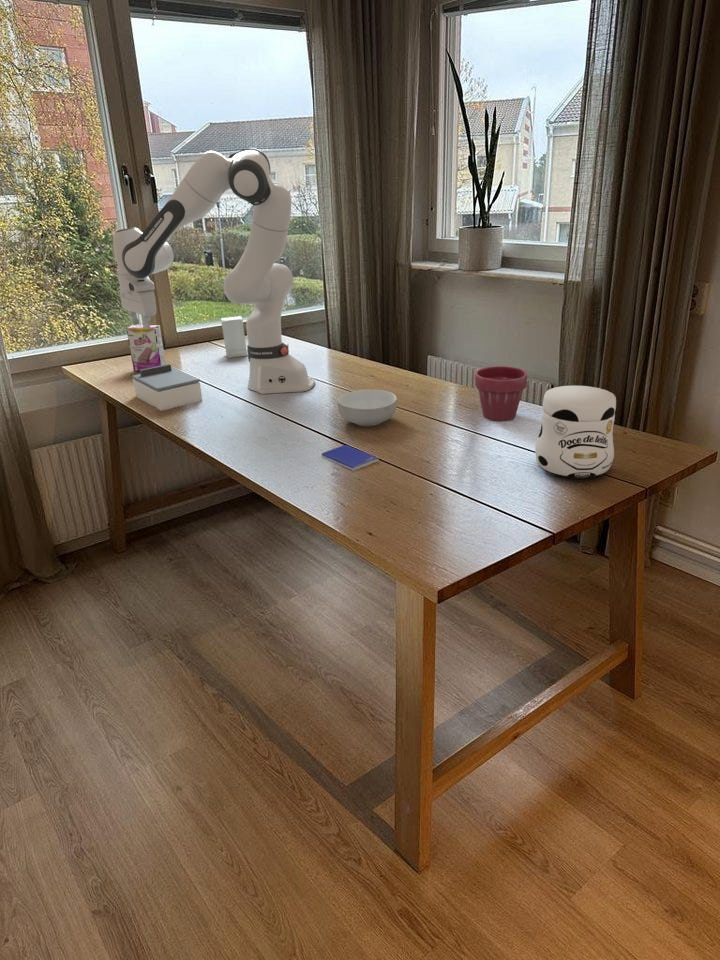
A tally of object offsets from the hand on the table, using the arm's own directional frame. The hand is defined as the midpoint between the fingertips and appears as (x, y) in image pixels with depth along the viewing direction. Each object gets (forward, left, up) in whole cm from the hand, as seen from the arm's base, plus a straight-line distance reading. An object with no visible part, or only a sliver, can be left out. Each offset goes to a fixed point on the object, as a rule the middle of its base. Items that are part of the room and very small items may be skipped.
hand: (141, 326), depth 218 cm
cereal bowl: (-76, +30, -22) cm, 85 cm away
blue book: (-74, +57, -22) cm, 96 cm away
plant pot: (-113, +25, -22) cm, 118 cm away
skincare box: (-16, -46, -22) cm, 53 cm away
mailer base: (-9, +9, -22) cm, 25 cm away
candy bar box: (+11, -25, -22) cm, 35 cm away
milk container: (-127, +62, -22) cm, 143 cm away
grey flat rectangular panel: (-9, +9, -15) cm, 20 cm away
